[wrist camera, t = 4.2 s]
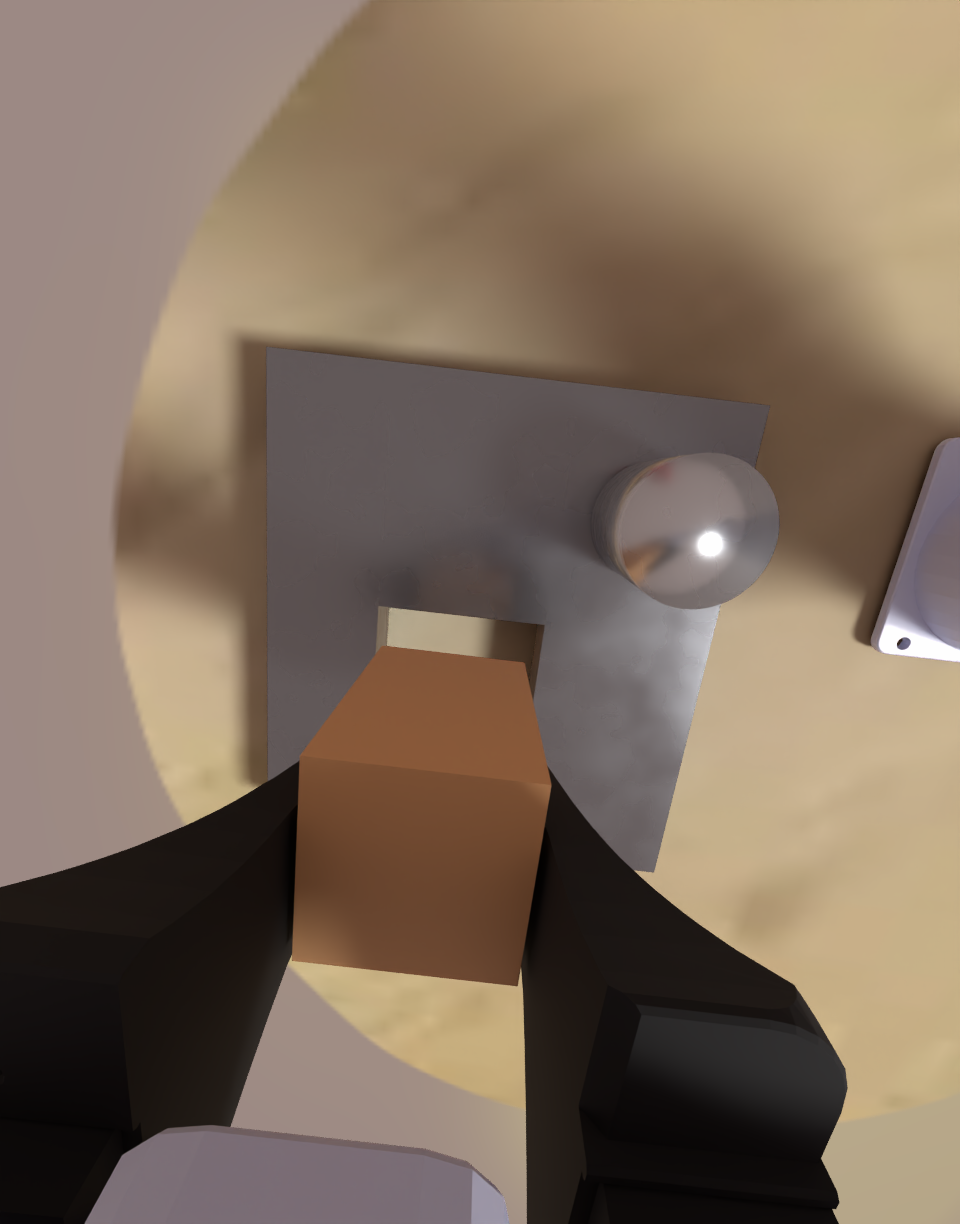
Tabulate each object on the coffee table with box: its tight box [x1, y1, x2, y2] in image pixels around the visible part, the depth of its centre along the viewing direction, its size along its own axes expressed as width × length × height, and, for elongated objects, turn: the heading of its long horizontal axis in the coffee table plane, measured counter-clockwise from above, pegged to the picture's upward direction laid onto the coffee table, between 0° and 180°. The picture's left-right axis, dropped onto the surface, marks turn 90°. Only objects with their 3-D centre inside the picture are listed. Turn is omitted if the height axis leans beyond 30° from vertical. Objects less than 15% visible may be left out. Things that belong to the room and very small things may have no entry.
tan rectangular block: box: [292, 646, 551, 986], centre depth 11 cm, size 4×4×6 cm
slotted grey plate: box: [266, 347, 780, 872], centre depth 17 cm, size 16×18×6 cm
